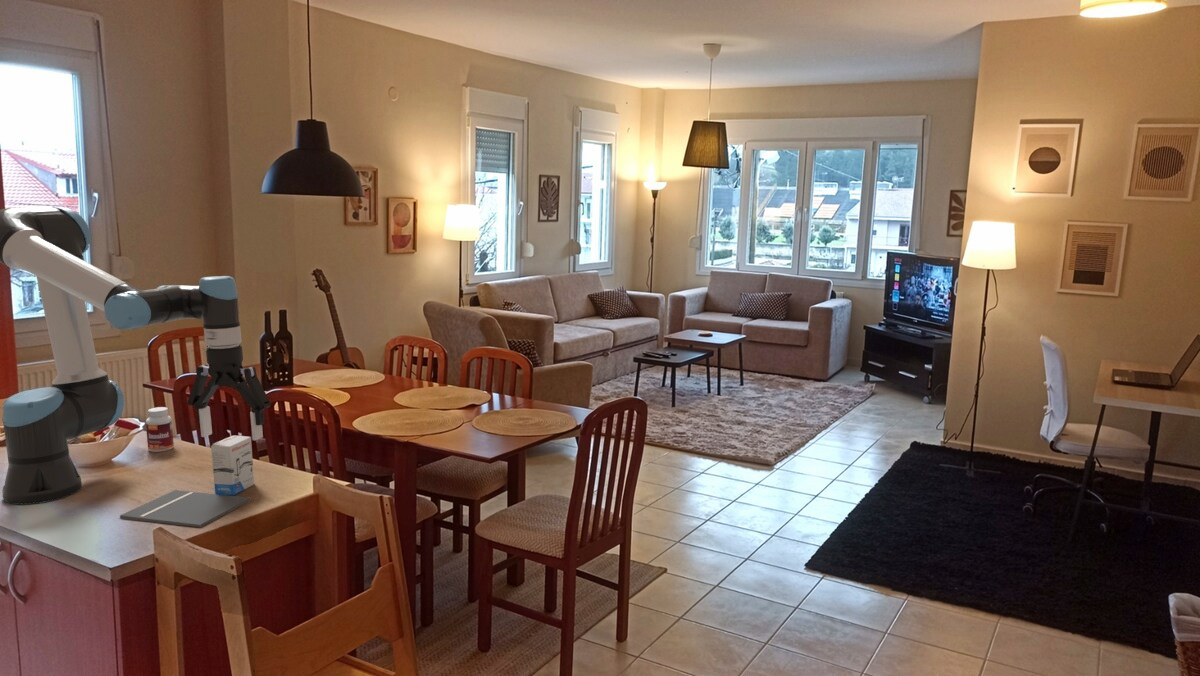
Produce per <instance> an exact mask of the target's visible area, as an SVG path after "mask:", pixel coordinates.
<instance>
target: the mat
mask: <svg viewBox="0 0 1200 676" xmlns="http://www.w3.org/2000/svg"><path fill="white" fill-rule="evenodd" d="M251 500H252V499H251V497H245V496H244V497H243V496H237V495H236V496H235V495H234V496H233V495H218V494H215V493H209V492H208V493H205V492H198V491H187V490H178V489H174V490H172V491H170V492H168V493H165V494H163V495H161V496H159V497H158V498H155V499H153V500H150V501H149V502H146V503H143V504H141V505H140V506H138V507H136V508H133V509H131V510H129V511H126V512H125V513H121V514H120V515H119V519H124V520H134V521H141V522H142V521H143V522H149V523H160V524H167V525H175V526H183V527H192V528H202V527H204V526H206V525H207V524H210V523H211V522H213V521H215V520H217V519H219V518H221V517H222V516H224V515H227V514H228V513H230V512H232V511H234V510H236V509H237V508H240V507H242V506H244V505H245V504H247V503H248V502H251Z"/></svg>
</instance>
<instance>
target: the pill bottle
mask: <svg viewBox="0 0 1200 676" xmlns="http://www.w3.org/2000/svg"><path fill="white" fill-rule="evenodd" d="M147 413H148V416H149V417H148V418H147V419H145V428H146V439H147V440H146V441H147V442H146V443H147V450H148V451H149V452H152V453H162V452H167V451H170V450H172V449H174V445H175V443H174V434H173V430H174V429H173V422H172V420H173V419H172V417H171V416H170V415H168V414H169V409H168V407H165V406H157V407H153V408H149V409H148V410H147Z"/></svg>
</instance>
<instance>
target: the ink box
mask: <svg viewBox="0 0 1200 676" xmlns="http://www.w3.org/2000/svg"><path fill="white" fill-rule="evenodd" d="M210 449H211V450H210V451H211V460H212V461H211V462H212V472H213V474H212V475H213V484H214V485H213V486H214V494H218V495H227V496H235V495H236V496H237V495H238V494H239V493H241V492H243V491H244V490H246V489H248V488H250V487H253V485H255V475H254V464H253V462H254V461H253V448H252V436H245V435H231V436H228V437H225V438H224V439H222V440H219V441H216V442H214V443H212V445H210Z"/></svg>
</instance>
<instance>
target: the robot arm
mask: <svg viewBox="0 0 1200 676" xmlns="http://www.w3.org/2000/svg"><path fill="white" fill-rule="evenodd" d="M91 235H92V234H91V231H90V228H89V225H88V223H87V221H86V220H85V218H83V217H82V216H81V215H80V214H79V213H78V212H76V211H75V210H73V209H72V208H68V207H62V206H54V205H53V206H35V207H33V206H32V207H31V206H30V207H6V208H2V209H0V263H1V264H2V265H4V266H7V267H8V268H10V269H13V270H20V271H21V270H24V271H26V272H28V273H29V274H31V275H34V276H36V280H37V285H38V289H39V293H40V294H39V295H40V299H41V304H42V308H43V313H44V317H45V318H44V319H45V321H46V328H47V331H48V335H49V341H50V345H51V351H52V355H53V356H52V357H53V359H54V364H55V369H56V373H57V374H56V377H54V378H53V380H52V382H51V386H52V387H51V386H45V387H44V386H43V387H37V388H34V389H28V390H23V391H20V392H18V393H15V394H13V395H11V396H9V397H8V398H7V399H5V401H4V402H3V403H2V407H1V408H2V409H1V411H2V412H1V413H2V417H1V423H2V425H3V431H4V438H5V445H6V446H5V448H6V454H7V461H8V464H7V465H8V467H7V472H6V476H5V480H4V485H3V487H2V490H1V491H2V500H3V501H4V502H5V503H8V504H13V505H31V504H40V503H47V502H52V501H57V500H60V499H62V498H67V497H70V496H71V495H74V494H77V492H79V491H80V490H81V489H82V488H83V485H82V478H81V477H82V476H81V475H80V474H79V472H78V470H77V468H76V465H75V464H74V462H73V460H72V458H71V456H70V450H69V441H70V440H72V439H76V438H78V437H82V436H84V435H87V434H91V433H94V432H100V431H103V430H104V429H106V428H109V427H110V426H112V425H114V424H116V423H117V422H118V421H119V419H120V418H121V417H122V415H123V413H124V410H125V396H124V392H123V390H122V389H121V387H120V386H118V384H117V382H115V381H113V380H111V379H109V375H108V372H106V371H105V370H103V369H102V368H100V367H99V363H98V357H97V353H96V349H95V342H94V338H93V334H92V327H91V324H90V320H89V315H88V310H87V309H88V308H87V305H86V303H87V304H89V305H91V306H93V307H95V308H97V309H99V310H101V311H102V312H104V315H105V318H106V321H108V322H109V324H110V326H112V327H113V328H115V329H118V330H122V331H125V330H137V329H140V328H143V327H149V326H152V325H158V324H164V323H169V322H173V321H179V320H189V319H190V320H202V325H203V335H204V345H206V346H207V347H206V348H205V357H206V363H207V364H203V365H199V366H197V367H196V376H195V380H194V382H193V385H192V388H191V392H190V394H189V397H188V400H187V404H188V406H193V407H194V408H195V409H196V416H197V417H196V419H197V422H199V425H200V437H202V438H206V437H207V436H210V435H212V434H213V429H212V428H213V427H212V417H211V407H210V406H208V405H209V402H210V400H211V398H212V397H213V395H214V394H215V392H216V391H217V390H218V388H222V387H225V388H233V389H234V390H236V391H237V392H238V393H239V395H241V397H242V398H243V400H244V402H245V403H247V405H249V407H250V408H251V411H250V412H249V413H250V414H249V417H250V425H251V441H257V440H261V439H263V438H264V435H263V425H264V424H265V414H264V411H265V410H266V409H268V408H270V407H271V406H272V403H271V401H270V399H269V397H268V395H267V393H266V391H265V389H264V388H263V385H262V384H261V382H260V380H259V378H258V375H257V371H256V367H255V366H250V367H247V368H244V367H243V365H242V364H243V361H244V355H243V346H242V345H241V343H242V342H243V340H242V339H243V338H242V331H241V323H240V315H239V313H240V312H239V293H238V290H237V283H236V280H235V278H234V277H232V276H230V275H221V276H218V275H215V276H203V277H201V278H200V279H199V281H198V283H199V285H188V284H187V285H183V284H181V285H179V284H169V285H168V284H166V285H160V286H158V287H157V288H151V289H146V290H143V289H140V288H138V287H135V286H133V285H132V284H129V283H127V282H126V281H123V280H121V278H118V277H115V276H114V275H112V274H110V273H108V272H106V271H104V270H102V269H101V268H99V267H96V266H94V265H93V264H91V263H89V262H87V261H85V258H84V253H86V252H87V251H88V249H89V248H90V247H89V246H90V245H91V242H92V241H91V240H92V236H91ZM208 377H211V378H210V379H209V378H208ZM208 379H209V381H208ZM207 381H208V382H207ZM206 383H207V384H206ZM205 386H206V387H205Z"/></svg>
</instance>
